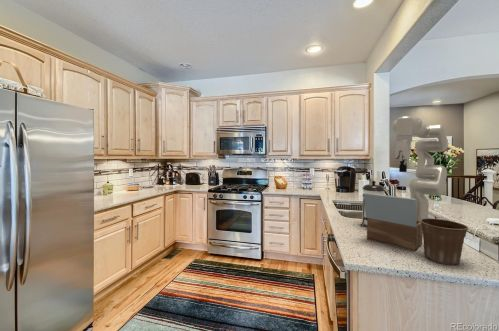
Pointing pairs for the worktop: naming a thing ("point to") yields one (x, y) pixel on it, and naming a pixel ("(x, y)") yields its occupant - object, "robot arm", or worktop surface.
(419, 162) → the robot arm
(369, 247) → the worktop surface
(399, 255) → the worktop surface
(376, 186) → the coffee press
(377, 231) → the box
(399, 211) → the lid
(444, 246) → the plant pot
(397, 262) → the worktop surface
